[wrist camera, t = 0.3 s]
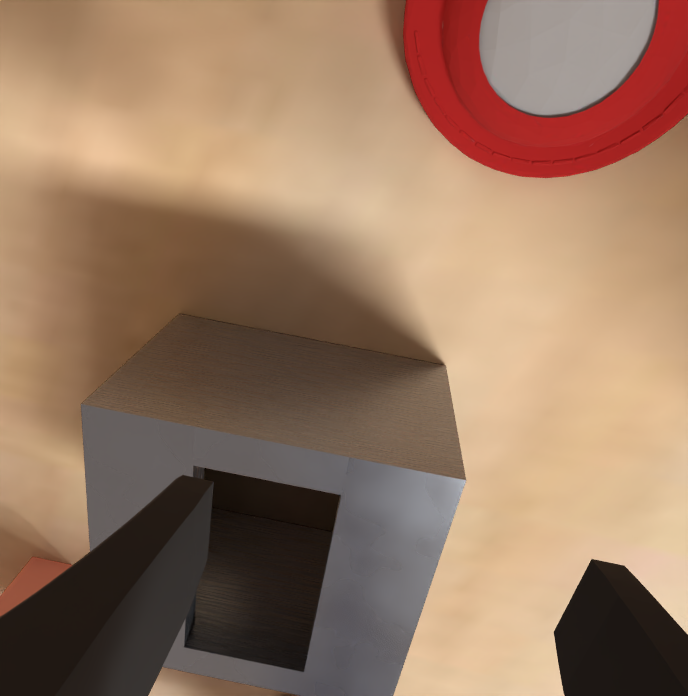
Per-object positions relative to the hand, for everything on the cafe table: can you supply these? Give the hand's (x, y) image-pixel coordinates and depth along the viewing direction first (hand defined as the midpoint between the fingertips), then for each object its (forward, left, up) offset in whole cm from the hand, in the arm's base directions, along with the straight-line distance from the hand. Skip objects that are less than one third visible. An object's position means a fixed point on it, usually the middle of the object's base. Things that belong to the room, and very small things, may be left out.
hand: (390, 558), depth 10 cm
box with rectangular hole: (-5, +3, -10) cm, 12 cm away
